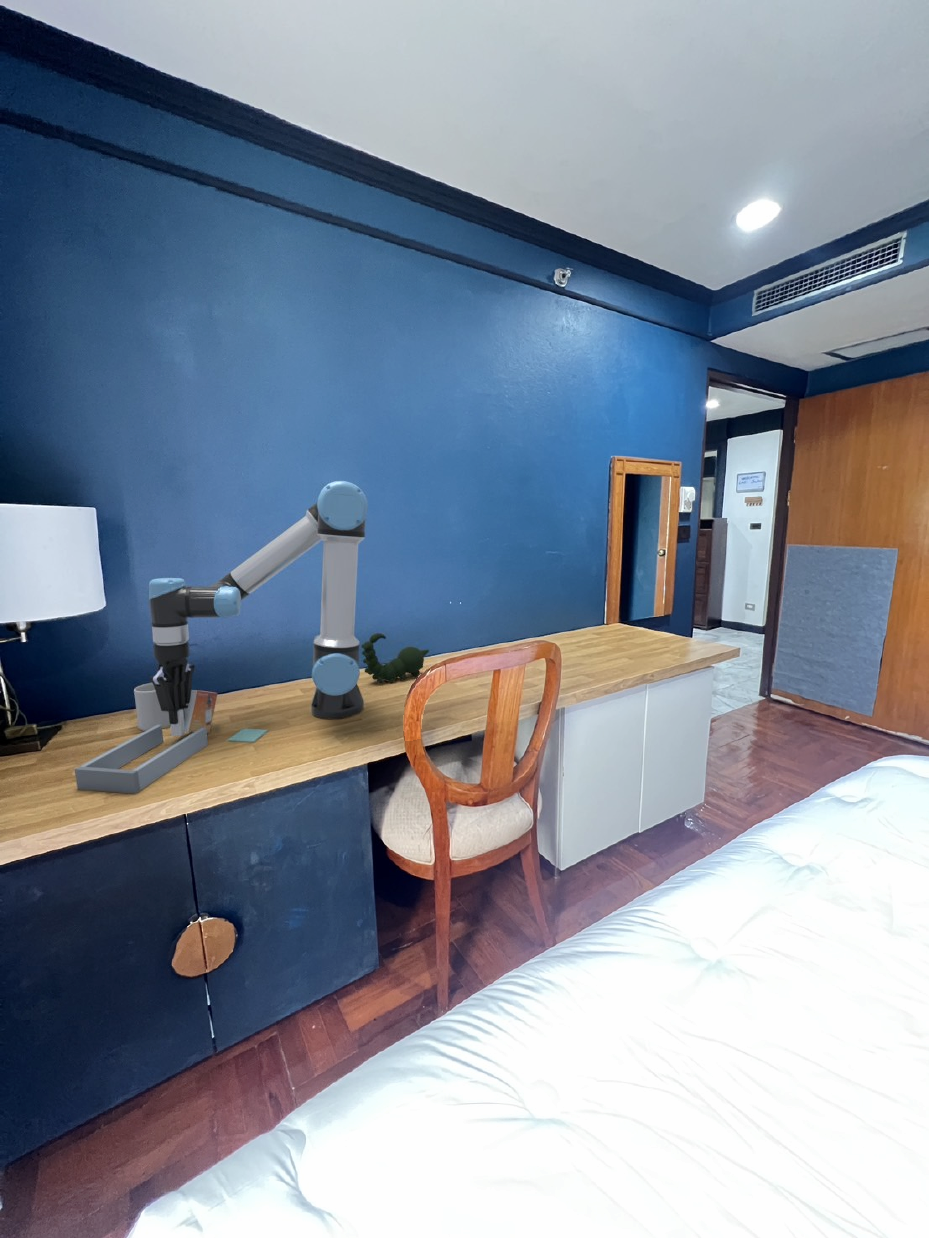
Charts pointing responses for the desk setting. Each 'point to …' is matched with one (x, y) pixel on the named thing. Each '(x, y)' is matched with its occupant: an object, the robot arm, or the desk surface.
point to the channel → (112, 779)
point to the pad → (248, 735)
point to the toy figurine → (392, 662)
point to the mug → (149, 708)
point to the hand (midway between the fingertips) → (178, 734)
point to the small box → (199, 711)
